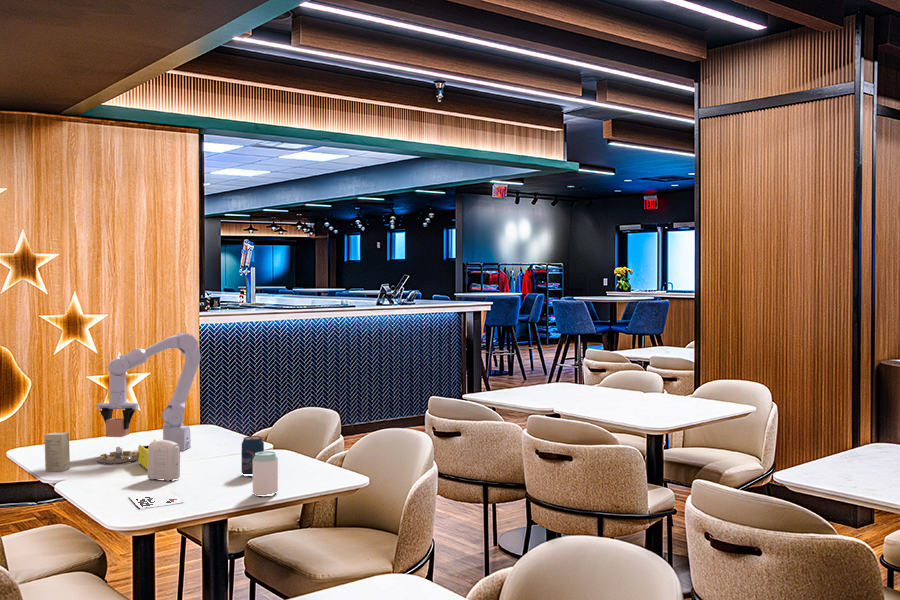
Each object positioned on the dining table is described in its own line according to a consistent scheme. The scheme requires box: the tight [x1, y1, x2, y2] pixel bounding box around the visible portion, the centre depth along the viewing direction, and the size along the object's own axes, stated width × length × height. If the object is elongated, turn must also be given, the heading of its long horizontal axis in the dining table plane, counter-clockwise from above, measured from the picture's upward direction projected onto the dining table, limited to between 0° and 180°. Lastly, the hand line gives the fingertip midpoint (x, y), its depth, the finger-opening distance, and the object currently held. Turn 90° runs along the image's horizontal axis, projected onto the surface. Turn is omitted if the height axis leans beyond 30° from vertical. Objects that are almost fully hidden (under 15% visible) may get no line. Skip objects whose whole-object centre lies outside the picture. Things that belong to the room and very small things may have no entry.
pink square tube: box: [105, 417, 130, 438], centre depth 273 cm, size 6×6×6 cm
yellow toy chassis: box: [137, 439, 157, 471], centre depth 252 cm, size 16×6×8 cm, turn 34°
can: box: [252, 450, 279, 496], centre depth 216 cm, size 7×7×12 cm
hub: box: [96, 446, 138, 465], centre depth 263 cm, size 14×14×4 cm
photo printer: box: [147, 439, 181, 481], centre depth 234 cm, size 10×4×12 cm, turn 72°
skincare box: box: [44, 432, 71, 472], centre depth 248 cm, size 6×4×12 cm
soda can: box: [241, 435, 265, 475], centre depth 240 cm, size 7×7×12 cm
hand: (117, 428), depth 273 cm, fingers closed on pink square tube, 6 cm apart
